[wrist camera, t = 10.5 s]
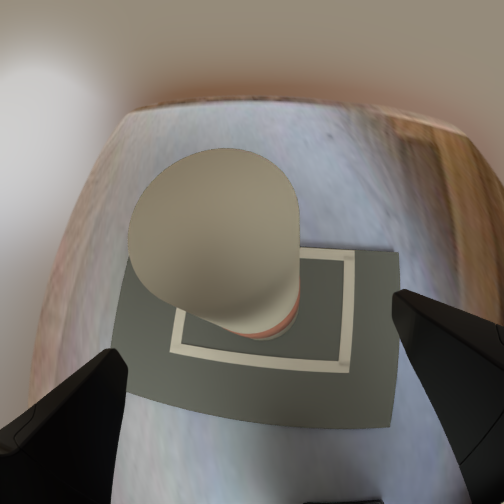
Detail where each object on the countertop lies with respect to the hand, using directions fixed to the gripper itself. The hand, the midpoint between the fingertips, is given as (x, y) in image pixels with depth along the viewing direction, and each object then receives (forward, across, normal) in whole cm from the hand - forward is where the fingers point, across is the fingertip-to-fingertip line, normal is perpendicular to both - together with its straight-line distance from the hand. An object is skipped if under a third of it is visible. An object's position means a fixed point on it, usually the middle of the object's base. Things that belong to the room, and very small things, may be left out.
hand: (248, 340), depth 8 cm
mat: (+10, +2, +7) cm, 12 cm away
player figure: (+10, 0, +6) cm, 12 cm away
